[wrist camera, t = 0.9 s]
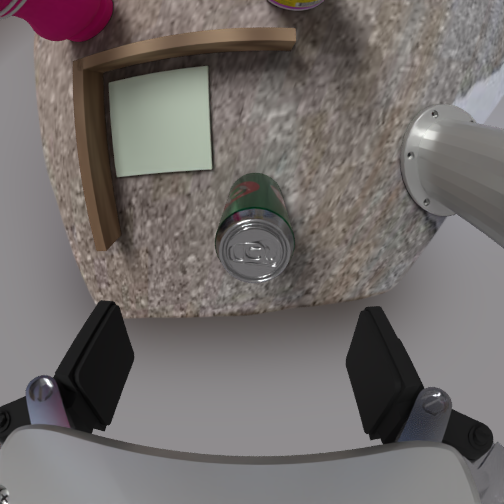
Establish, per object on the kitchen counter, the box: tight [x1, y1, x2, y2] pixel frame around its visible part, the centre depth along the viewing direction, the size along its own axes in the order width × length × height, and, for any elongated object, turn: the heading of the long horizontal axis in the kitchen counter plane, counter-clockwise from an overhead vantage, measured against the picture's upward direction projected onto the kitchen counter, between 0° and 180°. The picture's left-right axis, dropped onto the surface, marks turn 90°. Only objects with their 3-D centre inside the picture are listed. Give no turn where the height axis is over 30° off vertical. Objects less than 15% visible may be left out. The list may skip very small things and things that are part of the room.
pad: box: [109, 66, 213, 177], centre depth 25 cm, size 10×10×1 cm
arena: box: [73, 28, 296, 251], centre depth 24 cm, size 20×19×4 cm
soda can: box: [215, 173, 295, 283], centre depth 23 cm, size 5×5×12 cm
